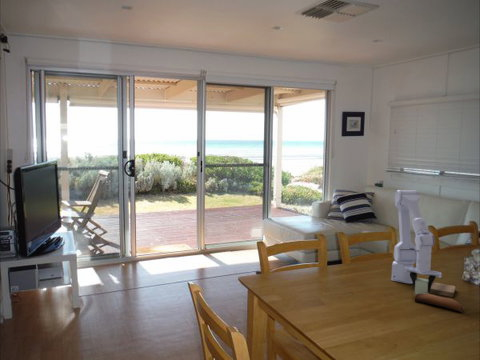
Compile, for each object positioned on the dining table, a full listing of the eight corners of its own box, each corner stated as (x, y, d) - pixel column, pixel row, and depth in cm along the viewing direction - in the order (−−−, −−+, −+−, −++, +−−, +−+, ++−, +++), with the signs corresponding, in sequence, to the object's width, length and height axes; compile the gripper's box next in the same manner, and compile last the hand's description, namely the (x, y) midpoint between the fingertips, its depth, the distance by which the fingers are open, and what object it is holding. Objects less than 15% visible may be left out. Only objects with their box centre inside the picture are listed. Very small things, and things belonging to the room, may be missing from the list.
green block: (414, 294, 182) (415, 280, 181) (416, 290, 186) (417, 277, 186) (427, 296, 179) (427, 283, 179) (428, 293, 184) (429, 279, 183)
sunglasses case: (466, 306, 168) (465, 295, 165) (462, 320, 164) (461, 308, 161) (420, 296, 180) (418, 285, 177) (415, 308, 175) (413, 297, 172)
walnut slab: (427, 292, 184) (428, 288, 184) (431, 285, 193) (431, 281, 192) (452, 297, 179) (453, 292, 179) (455, 290, 187) (455, 286, 187)
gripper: (404, 259, 182) (402, 289, 183) (440, 265, 174) (438, 296, 175) (407, 256, 188) (406, 285, 189) (442, 261, 180) (440, 291, 181)
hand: (421, 290), depth 183 cm, fingers closed on green block, 5 cm apart
